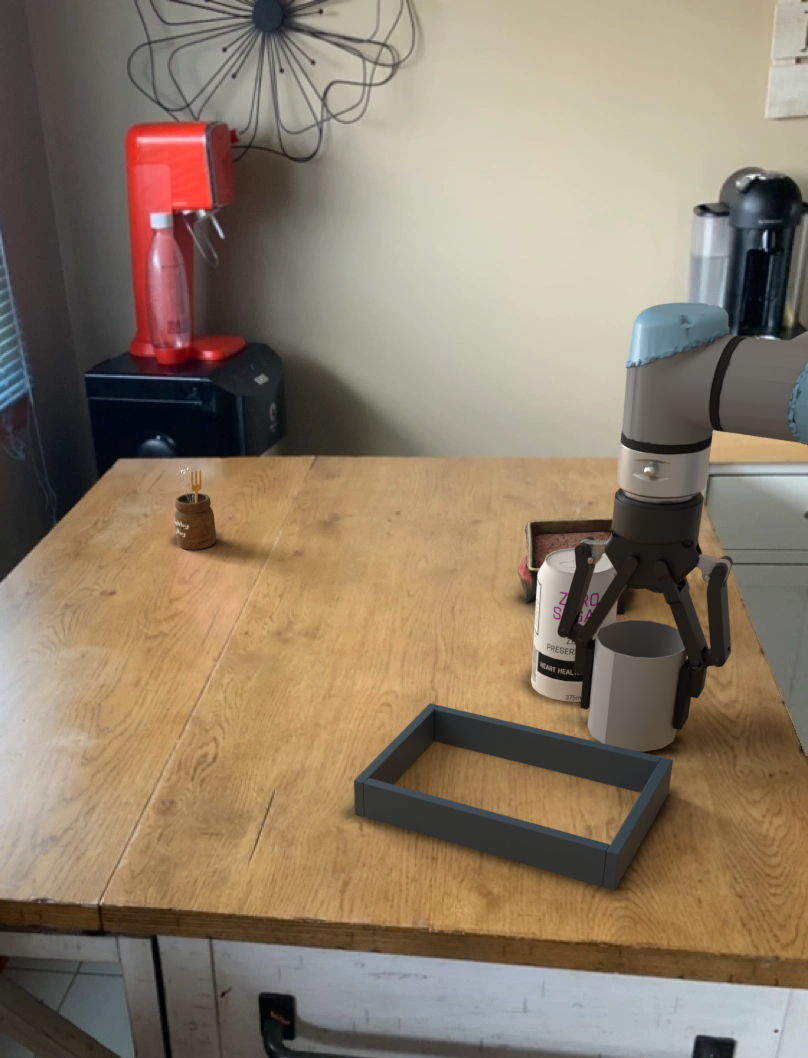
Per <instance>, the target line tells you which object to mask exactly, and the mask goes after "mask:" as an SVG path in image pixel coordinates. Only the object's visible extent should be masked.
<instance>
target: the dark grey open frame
mask: <svg viewBox="0 0 808 1058" xmlns="http://www.w3.org/2000/svg"><path fill="white" fill-rule="evenodd" d="M434 742H436V743H440V744H444V745H448V746H452V747H455V748H460V749H463V750H468V751H471V752H476V753H480V754H483V755H488V756H493V757H496V758H500V759H505V760H507V761H511V762H512V761H513V762H516V763H519V764H520V763H521V764H524V765H527V766H531V767H537V768H539V769H545V770H548V771H552V772H555V773H560V774H564V775H568V776H571V777H572V776H573V777H576V778H580V779H584V780H589V781H592V782H596V783H600V784H603V785H604V784H605V785H608V786H612V787H617V788H621V789H625V790H628V791H631V792H636V793H640V794H639V796H638V797H637V799H636V801H635V802H634V804H633V806H632V807H631V809H630V811H629V812H628V814H627V816H626V818H625V819H624V821H623V823H622V824H621V826H620V828H619V829H618V831H617V833H616V835H615V836H614V838H613V840H612V841H611V843H610V844H609V843H606V842H603V841H599V840H596V839H592V838H588V837H585V836H581V835H577V834H574V833H569V832H568V831H567V832H566V831H563V830H559V829H556V828H553V827H548V826H545V825H541V824H537V823H534V822H530V821H527V820H523V819H521V818H520V819H519V818H517V817H516V818H515V817H513V816H509V815H505V814H502V813H498V812H494V811H490V810H487V809H483V808H480V807H476V806H472V805H468V804H465V803H461V802H457V801H454V800H450V799H447V798H443V797H439V796H436V795H432V794H428V793H425V792H422V791H417V790H414V789H410V788H408V787H404V786H401V785H396V783H397V782H398V781H399V780H400V779H401V778H402V776H403V775H404V774H405V773H406V772H407V771H408V770H410V768H411V767H412V766H413V765H414V764H415V763H416V761H418V759H419V758H420V757H421V756H422V755H423V754H424V752H426V751H427V749H428V748H430V746H431V745H432V744H433V743H434ZM673 763H674V759H673V758H672V759H671V758H667V757H662V756H659V755H654V754H650V753H646V752H642V751H634V750H629V749H625V748H621V747H616V746H612V745H608V744H603V743H601V742H600V741H595V740H590V739H585V738H582V737H577V736H573V735H568V734H564V733H560V732H556V731H551V730H547V729H543V728H538V727H534V726H530V725H525V724H521V723H517V722H513V721H508V720H505V719H499V718H495V717H491V716H487V715H482V714H479V713H474V712H469V711H466V710H461V709H457V708H453V707H448V706H444V705H439V704H436V703H431V702H430V703H428V704H427V705H426V706H425V707H424V708H423V709H422V710H421V711H420V712H419V713H418V714H417V715H416V717H414V718H413V719H412V720H411V721H410V722H409V724H408V725H407V726H405V727H404V729H403V730H402V731H401V732H400V733H399V734H398V735H397V736H396V737H395V738H394V739H393V740H392V741H391V742H390V743H389V744H388V745H387V746H385V748H384V749H383V750H382V751H381V752H380V753H379V754H377V756H376V757H375V758H374V759H373V761H371V762H370V763H369V764H368V765H367V766H366V767H365V769H363V770H362V771H361V772H360V774H358V776H357V777H356V778H355V779H354V780H353V793H354V794H353V795H354V796H353V797H354V798H353V799H354V814H355V815H356V816H360V817H364V818H368V819H371V820H374V821H377V822H381V823H383V824H387V825H391V826H394V827H397V828H400V829H405V830H408V831H411V832H415V833H417V834H422V835H425V836H427V837H431V838H435V839H438V840H442V841H445V842H449V843H452V844H455V845H458V846H461V847H465V848H469V849H472V850H475V851H479V852H481V853H485V854H489V855H492V856H496V857H499V858H502V859H506V860H510V861H513V862H517V863H520V864H523V865H526V866H529V867H533V868H537V869H540V870H543V871H547V872H549V873H553V874H556V875H560V876H564V877H567V878H571V879H574V880H577V881H580V882H583V883H586V884H587V883H588V884H590V885H594V886H598V887H601V888H604V889H608V890H611V891H616V889H617V887H618V885H619V884H620V882H621V880H622V878H623V877H624V875H625V873H626V871H627V869H628V867H629V866H630V864H631V862H632V860H633V858H634V857H635V855H636V854H637V852H638V850H639V847H640V846H641V844H642V843H643V840H644V838H645V837H646V835H647V833H648V832H649V830H650V828H651V826H652V824H653V823H654V821H655V819H656V817H657V815H658V813H659V812H660V810H661V808H662V806H663V804H664V803H665V801H666V799H667V797H668V796H669V792H670V786H671V780H672V779H671V778H672V770H673Z"/></svg>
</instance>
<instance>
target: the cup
mask: <svg viewBox="0 0 808 1058" xmlns="http://www.w3.org/2000/svg"><path fill="white" fill-rule="evenodd" d="M687 658H688V657H687V654H686V651H685V648H684V645H683V642H682V640H681V637H680V634H679V631H678V628H677V627H674V626H671V625H670V624H667V623H663V622H658V621H653V620H643V619H642V620H641V619H628V620H620V621H616V622H613V623H611V624H608V625H606V626H604V627H602V628H600V630H599V632H598V634H597V635H596V641H595V652H594V663H593V673H592V684H591V695H590V705H589V708H588V716H587V717H588V718H587V729H588V731H589V733H590V735H591V737H593V738H594V739H595V740H597V742H599V743H603V744H608V745H612V746H616V747H621V748H625V749H629V750H634V751H638V752H642V753H645V752H650V751H654V750H660V749H664V748H665V747H666V746H669V745H670V744H672V743H674V740H675V738H676V735H677V729H673V723H674V716H675V709H676V702H677V694H678V687H679V680H680V673H681V668H682V666H683V665H684V663H685V661H686V660H687Z"/></svg>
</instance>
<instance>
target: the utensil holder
mask: <svg viewBox="0 0 808 1058" xmlns="http://www.w3.org/2000/svg"><path fill="white" fill-rule="evenodd" d="M187 470H188V475H189V476H190V478H189V480H190V490H191V492H190V490H189V489H185V488H189V485H188V484H184V485H183V482H180V484H181V488H182V491H183V492H184V494H181V495H179V496H177V497H176V498H175V500H174V501H175V502H174V507H175V509H176V510H175V512H174V518H173V519H174V528H175V537H176V538H175V539H176V543H177V545H178V547H180V548H182V549H184V550H190V551H191V550H192V551H193V550H203V549H207V548H209V547H212V546H213V545H214V544H215V543H216V541H217V531H216V530H217V529H216V522H215V521H216V520H215V513H214V510H213V509H212V507H211V505H212V502H211V498H210V496H209V495H208V494H206V493H202V492H200V490H202V470H201V469H199V470H194V469H193V468H190V469H189V467H184V468H183V469H182V470H181V471H180V475H179V476H180V480H184V482H188V480H187V478H184V479H183V478H182V473H183V471H184V474H187ZM184 486H185V488H184Z"/></svg>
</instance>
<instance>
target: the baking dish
mask: <svg viewBox="0 0 808 1058" xmlns="http://www.w3.org/2000/svg"><path fill="white" fill-rule="evenodd" d="M612 520H613V517H565V518H564V517H560V518H559V517H558V518H547V519H545V518H544V519H533V520H531V521H529V520H528V521H527V523H526V524H525V529H524V533H525V539H526V550H527V551H526V552H527V553H526V554H527V555H525V556H523V558H522V559H521V560H520V564H519V566H518V569H517V575H518V576H519V579H520V583H521V586H522V590H523V594H524V598H525V603H526V605H528V604H532V603H536V593H537V576H538V572H539V570H540V568H541V566H542V565H543V563H544V562H545V558H546V556H547V555H548V554H550V553H552V552H554V551H558V550H561V549H569V548H575V547H576V546H577V545H578V544H579V543H580V542H581V541H582V540H583V539H584V538H585V537H587V536H590V537H593V538H594V539H595V540H608V539H609V537H610V535H611V531H612ZM629 590H630V588H628V585H627V586H626V588H625V589H624V591H623V592H622V594H621V595H620V597H619V598H618V605H617V615H624V614H625V612H626V598H627V595H628V593H629Z"/></svg>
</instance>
